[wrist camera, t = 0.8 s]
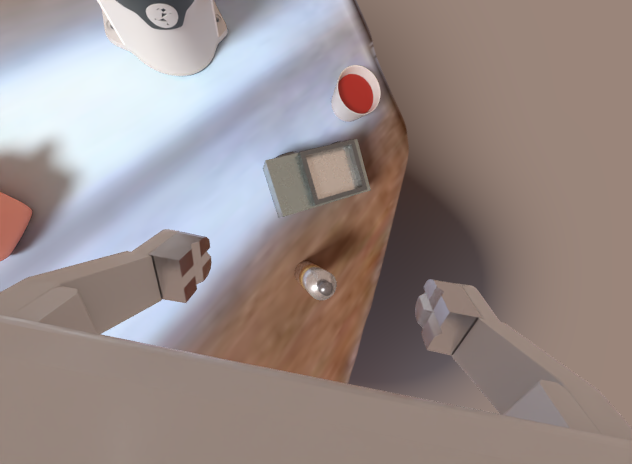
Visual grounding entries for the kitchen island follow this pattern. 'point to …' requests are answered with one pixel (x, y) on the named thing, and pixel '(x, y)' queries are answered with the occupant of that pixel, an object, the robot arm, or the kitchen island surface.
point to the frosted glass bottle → (315, 280)
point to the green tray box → (315, 177)
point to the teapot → (12, 223)
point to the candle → (355, 93)
